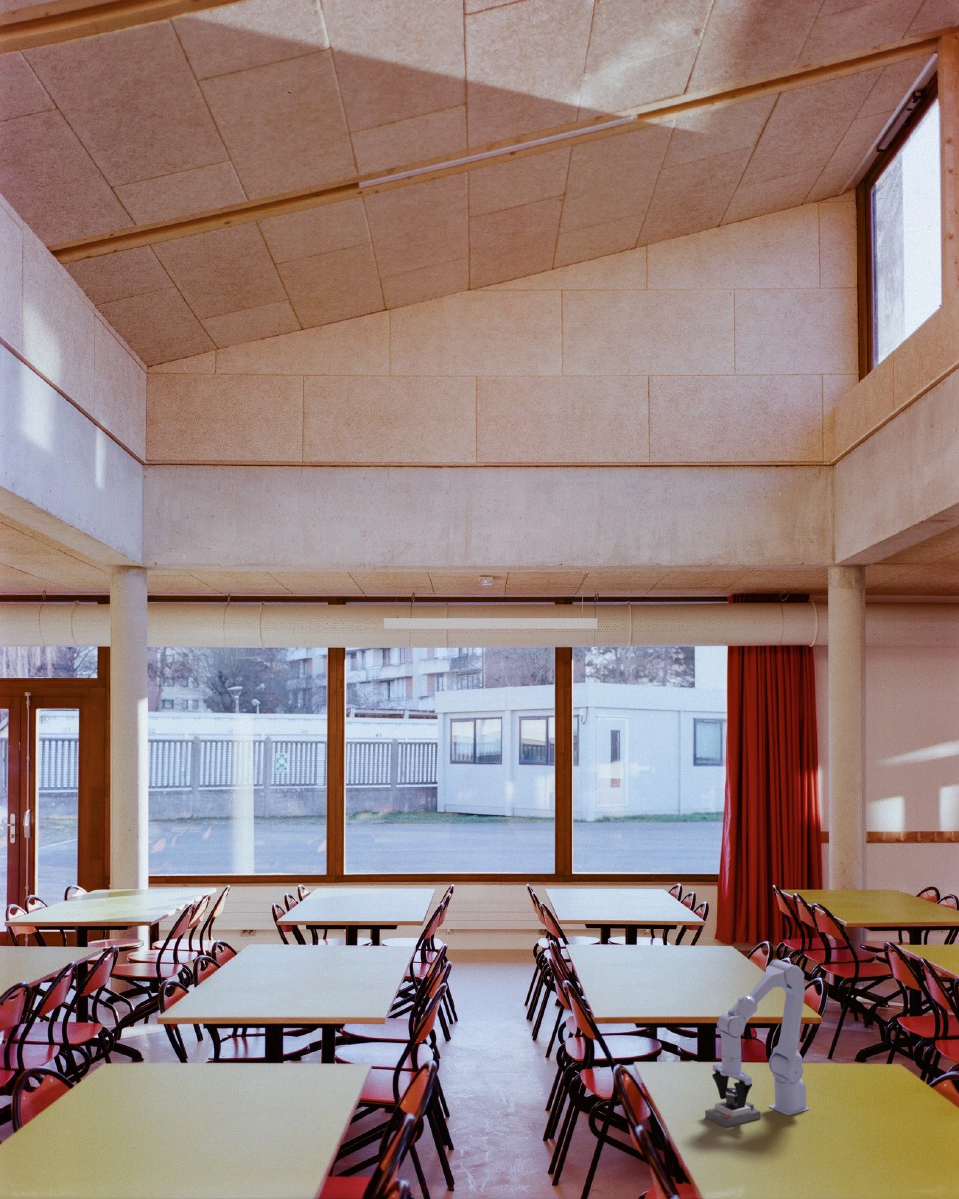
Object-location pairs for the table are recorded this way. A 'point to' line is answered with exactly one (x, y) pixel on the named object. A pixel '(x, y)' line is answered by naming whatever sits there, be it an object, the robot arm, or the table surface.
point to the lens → (731, 1099)
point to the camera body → (732, 1114)
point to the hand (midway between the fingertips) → (732, 1102)
